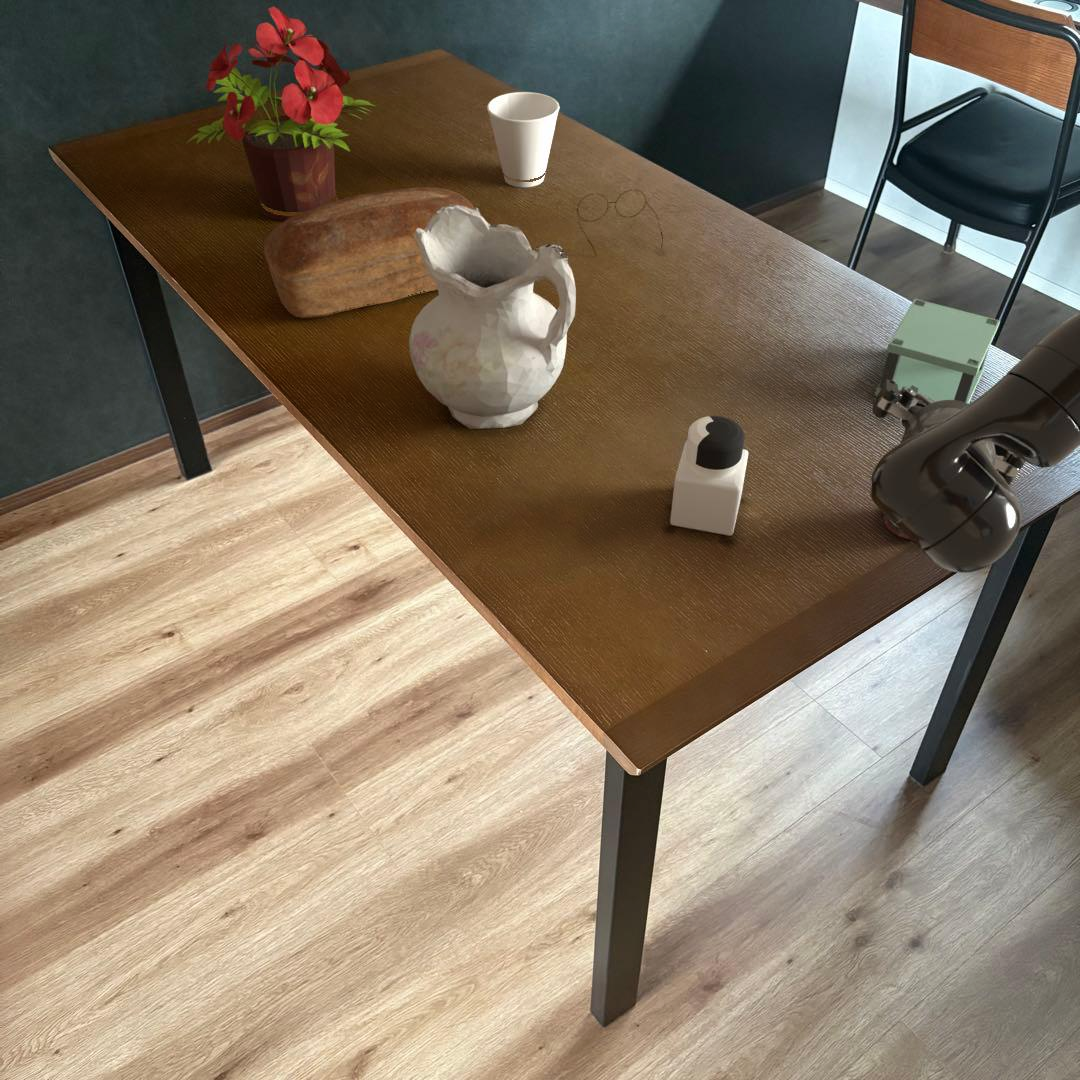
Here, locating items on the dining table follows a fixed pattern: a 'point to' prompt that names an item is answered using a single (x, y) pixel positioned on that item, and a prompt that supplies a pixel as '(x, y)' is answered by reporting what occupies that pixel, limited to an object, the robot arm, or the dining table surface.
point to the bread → (354, 251)
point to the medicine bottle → (710, 476)
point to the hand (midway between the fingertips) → (948, 416)
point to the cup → (523, 134)
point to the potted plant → (285, 117)
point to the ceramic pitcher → (489, 319)
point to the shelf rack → (939, 351)
